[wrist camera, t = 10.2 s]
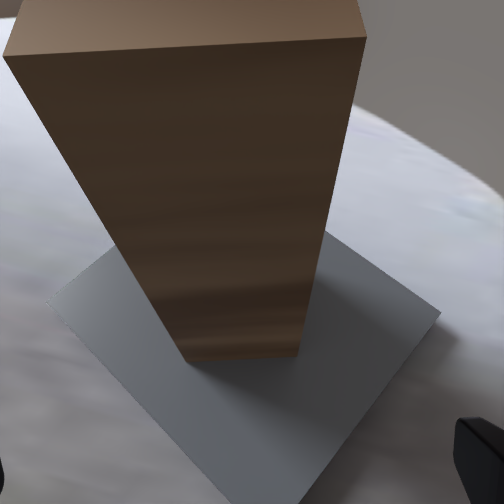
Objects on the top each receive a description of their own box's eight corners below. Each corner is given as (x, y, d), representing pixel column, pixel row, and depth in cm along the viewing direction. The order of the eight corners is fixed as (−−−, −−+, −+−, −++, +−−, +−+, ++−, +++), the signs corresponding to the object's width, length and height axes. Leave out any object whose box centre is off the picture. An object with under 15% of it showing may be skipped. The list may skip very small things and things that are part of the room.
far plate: (431, 322, 19) (441, 312, 18) (268, 540, 16) (268, 543, 14) (223, 172, 24) (221, 157, 23) (57, 312, 20) (45, 302, 19)
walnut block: (297, 356, 18) (366, 36, 5) (185, 362, 18) (2, 55, 5) (288, 258, 20) (322, -125, 8) (189, 263, 20) (64, -112, 8)
